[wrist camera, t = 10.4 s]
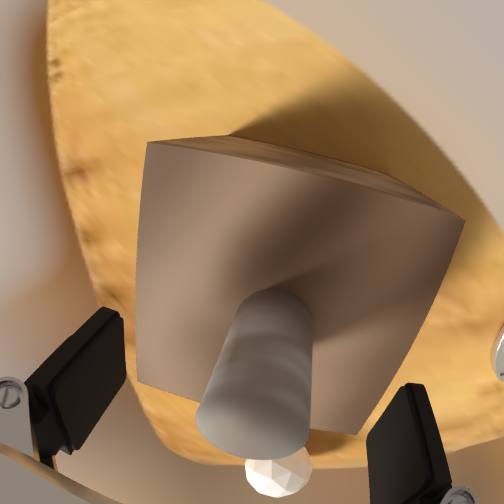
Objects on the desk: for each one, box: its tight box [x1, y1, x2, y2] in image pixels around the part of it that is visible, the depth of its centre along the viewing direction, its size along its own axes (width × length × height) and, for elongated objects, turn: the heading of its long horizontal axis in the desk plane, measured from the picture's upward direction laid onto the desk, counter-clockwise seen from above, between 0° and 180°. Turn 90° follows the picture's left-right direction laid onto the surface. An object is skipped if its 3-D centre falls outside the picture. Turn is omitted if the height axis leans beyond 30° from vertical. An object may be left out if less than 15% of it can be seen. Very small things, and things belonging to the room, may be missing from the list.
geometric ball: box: [245, 446, 313, 498], centre depth 31 cm, size 8×8×8 cm
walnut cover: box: [135, 135, 465, 460], centre depth 16 cm, size 12×12×18 cm
